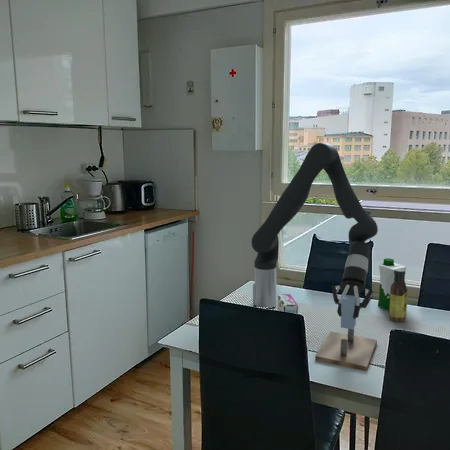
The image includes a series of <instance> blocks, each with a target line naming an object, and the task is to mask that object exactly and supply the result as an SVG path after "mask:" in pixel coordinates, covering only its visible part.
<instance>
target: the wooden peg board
mask: <svg viewBox="0 0 450 450" xmlns="http://www.w3.org/2000/svg"><path fill="white" fill-rule="evenodd" d="M377 343H378V340H377V339H376V338H375V339H374V338H368V337H363V336H358V335H355V328H354V329H353V330H352V329H347V334H345V333H341V332H335V331H329V334H328V335H327V337H326V338H325V340H324V341H323V343H322V344H321V346H320V347H319V349H318V351H317V353H316V354H315V356H314V357H315V358H314V361H317V362H322V363H327V364H332V365H336V366H341V367H345V368H350V369H353V370H360V371H363V372H367V371H368V370H369V369H368V368H369V366H370V363H371V361H372V358H373V355H374V353H375V349H376V346H377V345H378V344H377Z"/></svg>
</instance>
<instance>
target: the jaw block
mask: <svg viewBox="0 0 450 450" xmlns="http://www.w3.org/2000/svg"><path fill="white" fill-rule="evenodd" d="M340 298H341V297H340ZM355 306H356V297H355V296H351V295H344V296H343V297H342V298H341V317H340V328H342V329H347V330H348V329H352V330H353V329H354V330H355V327H356V326H357V325H356V324H357V323H356V322H357V318H356V319H354V318H353V313H354V309H355Z"/></svg>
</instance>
